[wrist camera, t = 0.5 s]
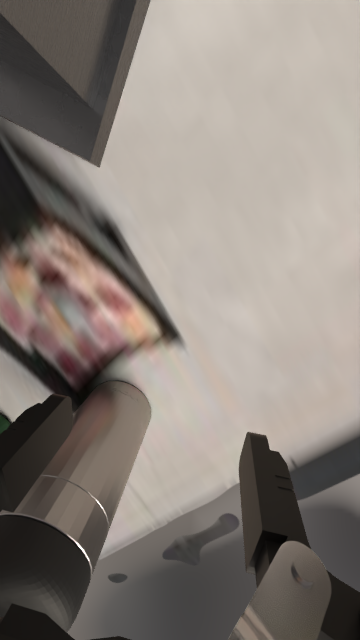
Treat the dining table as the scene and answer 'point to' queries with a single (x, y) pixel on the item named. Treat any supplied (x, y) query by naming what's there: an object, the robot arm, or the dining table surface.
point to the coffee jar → (3, 424)
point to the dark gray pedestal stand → (67, 67)
